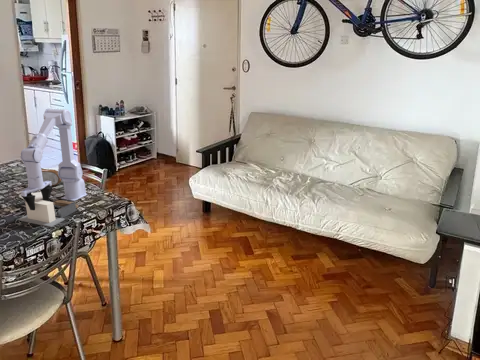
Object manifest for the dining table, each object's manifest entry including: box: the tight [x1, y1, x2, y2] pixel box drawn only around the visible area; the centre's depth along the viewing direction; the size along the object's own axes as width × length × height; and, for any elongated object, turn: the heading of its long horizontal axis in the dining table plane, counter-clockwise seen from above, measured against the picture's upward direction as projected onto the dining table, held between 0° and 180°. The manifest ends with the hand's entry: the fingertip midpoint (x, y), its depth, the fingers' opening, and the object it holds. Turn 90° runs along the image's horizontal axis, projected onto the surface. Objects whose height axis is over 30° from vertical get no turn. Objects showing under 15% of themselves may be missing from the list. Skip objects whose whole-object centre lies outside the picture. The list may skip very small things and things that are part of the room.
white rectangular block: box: [24, 199, 56, 223], centre depth 191 cm, size 4×12×8 cm, turn 68°
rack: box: [40, 198, 77, 219], centre depth 200 cm, size 9×17×4 cm, turn 68°
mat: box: [17, 214, 66, 228], centre depth 192 cm, size 8×18×1 cm, turn 68°
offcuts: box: [53, 199, 79, 209], centre depth 206 cm, size 3×13×2 cm, turn 68°
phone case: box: [31, 190, 51, 202], centre depth 215 cm, size 9×2×16 cm
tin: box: [41, 168, 62, 187], centre depth 232 cm, size 15×3×8 cm, turn 84°
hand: (39, 206), depth 190 cm, fingers open, 7 cm apart
